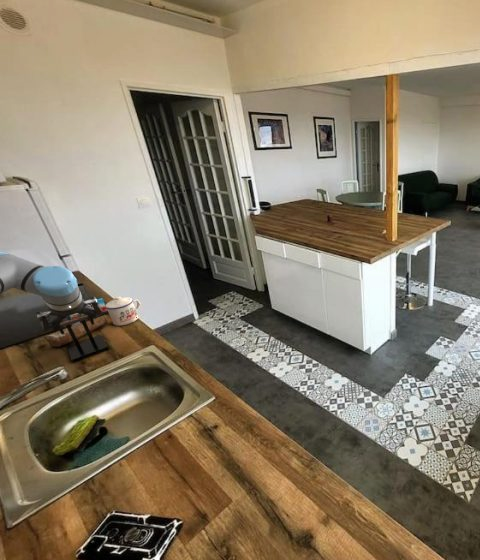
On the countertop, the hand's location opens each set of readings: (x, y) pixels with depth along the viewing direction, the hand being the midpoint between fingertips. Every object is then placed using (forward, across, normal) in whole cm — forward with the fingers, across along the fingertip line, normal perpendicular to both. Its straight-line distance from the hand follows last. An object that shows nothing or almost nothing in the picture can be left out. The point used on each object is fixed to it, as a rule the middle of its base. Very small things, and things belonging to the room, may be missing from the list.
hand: (77, 325), depth 107 cm
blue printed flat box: (+36, +6, +16) cm, 40 cm away
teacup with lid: (+24, +16, +5) cm, 29 cm away
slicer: (+14, 0, -5) cm, 15 cm away
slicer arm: (+1, 0, +1) cm, 1 cm away
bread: (+24, 0, +5) cm, 24 cm away
